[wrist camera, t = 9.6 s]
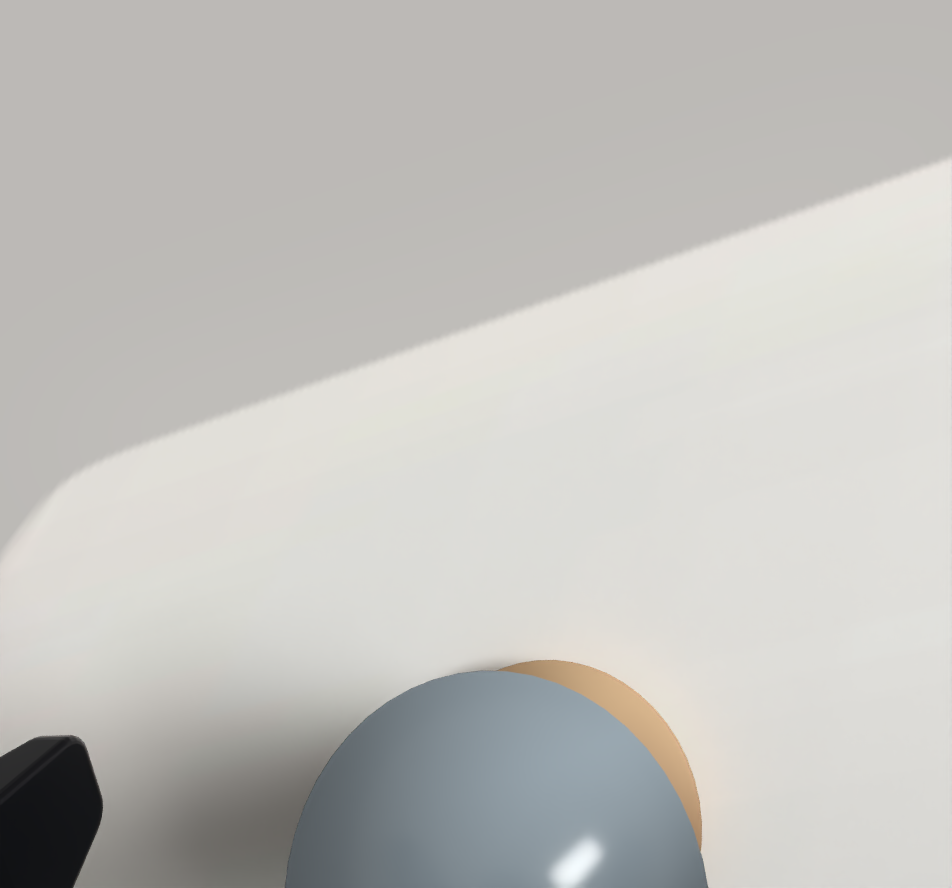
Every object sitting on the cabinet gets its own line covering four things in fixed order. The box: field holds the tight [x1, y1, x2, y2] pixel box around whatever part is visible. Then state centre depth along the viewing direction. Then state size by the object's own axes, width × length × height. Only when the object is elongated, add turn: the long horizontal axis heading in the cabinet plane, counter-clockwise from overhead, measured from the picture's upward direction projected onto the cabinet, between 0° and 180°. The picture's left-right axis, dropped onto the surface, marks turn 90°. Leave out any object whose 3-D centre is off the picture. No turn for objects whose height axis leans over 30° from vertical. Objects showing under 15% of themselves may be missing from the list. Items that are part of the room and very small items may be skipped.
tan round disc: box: [498, 660, 702, 851], centre depth 18 cm, size 7×7×1 cm
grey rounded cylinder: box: [285, 671, 708, 888], centre depth 13 cm, size 4×4×11 cm
